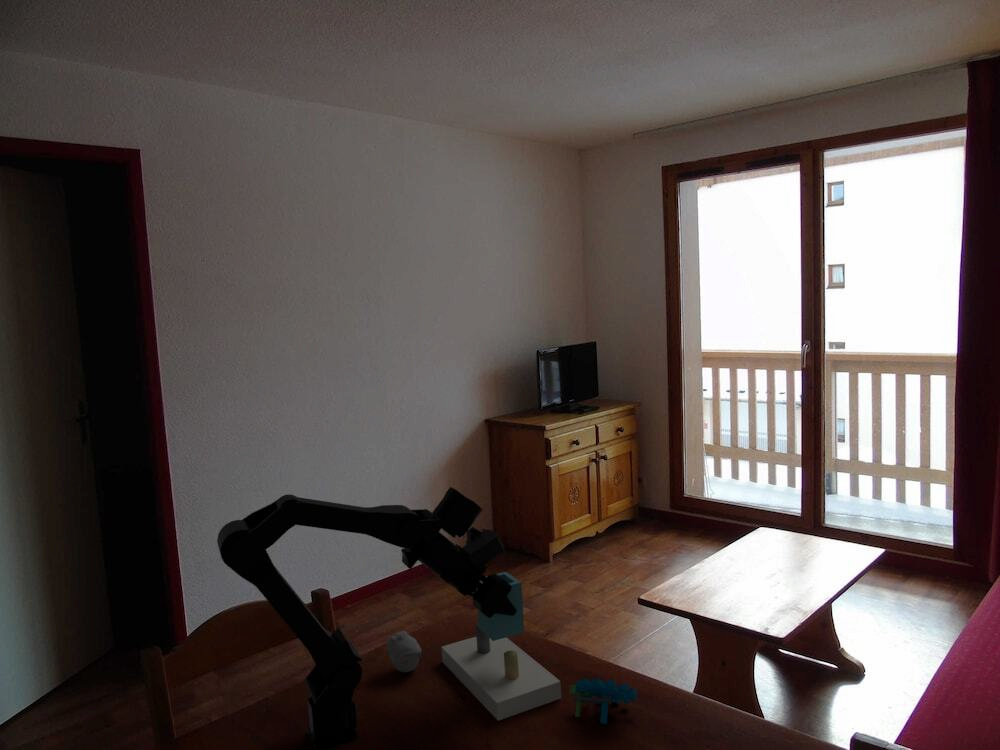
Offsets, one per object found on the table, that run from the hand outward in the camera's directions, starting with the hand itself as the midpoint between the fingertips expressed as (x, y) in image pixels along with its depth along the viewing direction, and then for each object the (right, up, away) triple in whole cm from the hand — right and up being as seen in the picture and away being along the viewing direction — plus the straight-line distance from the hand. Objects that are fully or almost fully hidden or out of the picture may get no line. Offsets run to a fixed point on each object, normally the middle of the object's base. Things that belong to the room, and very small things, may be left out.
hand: (506, 606), depth 126 cm
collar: (-1, -4, 0) cm, 4 cm away
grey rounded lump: (-19, -14, +7) cm, 25 cm away
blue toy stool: (+16, -14, -11) cm, 23 cm away
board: (-2, -14, +2) cm, 14 cm away
